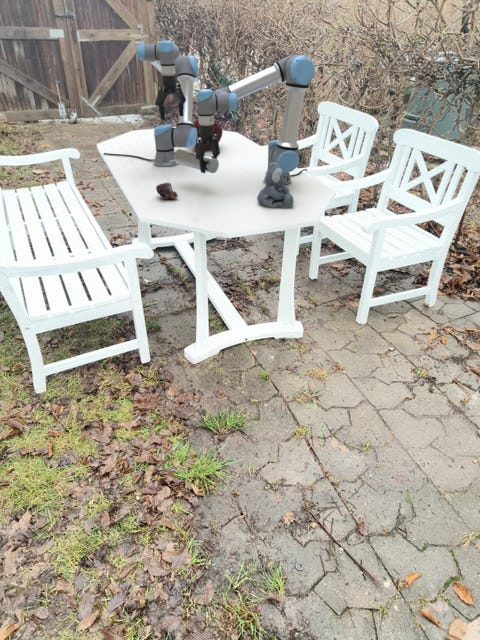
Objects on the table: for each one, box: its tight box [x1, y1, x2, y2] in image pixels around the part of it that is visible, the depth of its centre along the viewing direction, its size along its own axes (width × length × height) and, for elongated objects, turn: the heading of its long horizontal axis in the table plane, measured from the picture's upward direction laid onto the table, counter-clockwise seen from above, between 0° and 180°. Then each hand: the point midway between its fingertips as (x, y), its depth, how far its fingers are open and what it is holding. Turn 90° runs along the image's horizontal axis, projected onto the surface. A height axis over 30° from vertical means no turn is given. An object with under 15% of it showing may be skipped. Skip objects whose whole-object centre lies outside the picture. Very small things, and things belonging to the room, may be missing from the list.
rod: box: [174, 148, 220, 174], centre depth 240 cm, size 27×8×8 cm, turn 47°
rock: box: [155, 182, 178, 200], centre depth 237 cm, size 12×9×10 cm
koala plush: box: [256, 163, 294, 209], centre depth 226 cm, size 17×18×20 cm
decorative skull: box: [192, 119, 224, 153], centre depth 321 cm, size 21×24×25 cm
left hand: (172, 117), depth 252 cm, fingers open, 13 cm apart
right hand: (208, 170), depth 236 cm, fingers closed on rod, 8 cm apart
